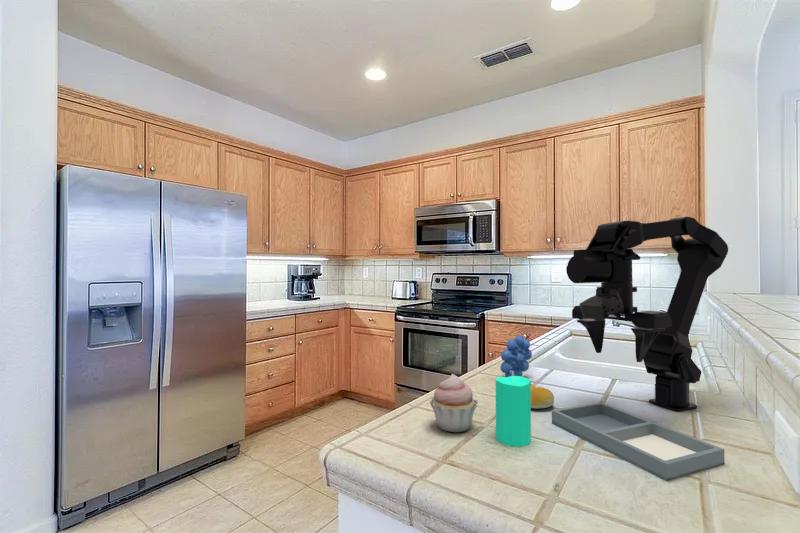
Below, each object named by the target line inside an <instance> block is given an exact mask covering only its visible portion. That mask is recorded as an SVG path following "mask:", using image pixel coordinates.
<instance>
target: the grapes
mask: <svg viewBox="0 0 800 533" xmlns="http://www.w3.org/2000/svg"><path fill="white" fill-rule="evenodd" d="M530 347H531V343H530V341H529V339H527V338H526V339H524V336H522V335H521V334H519V335H516V336H515V338H514V339H509V340H508V341H507V342H506V349H504V350H503V351H502V352H501V354H500V357H501V360H502V361H503V362H502V363H501V364H500V367H499V368H500V371H501V372H502V373H503V374H504V377H509V376H512V371H513V376H522V377H523V372H524V373H525V372H526V371H528V369H530V363H529V360H530V359H532V356H533V352H532V351H531V349H529V348H530Z"/></svg>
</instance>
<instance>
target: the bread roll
mask: <svg viewBox="0 0 800 533" xmlns="http://www.w3.org/2000/svg"><path fill="white" fill-rule="evenodd" d="M554 403H555V396H554V393H553V392H552V391H551V390H550V389H549V388H545V387H541V386H535V384H532V383H531V409H547V408H549V407H552V406H553V405H554Z"/></svg>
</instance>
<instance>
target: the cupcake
mask: <svg viewBox="0 0 800 533" xmlns="http://www.w3.org/2000/svg"><path fill="white" fill-rule="evenodd" d="M433 394H434V395H433V396H431V400H429V401H428V402H429V404H430V406H431V408H432V409H433V412H434V417H435V421H436V424H437V427H438V428H439V429H441V430H442V431H446V432H450V433H463V432H466V431H468V430H469V429H470V428H471V426H472V422H473V419H474V418H473V417H474V413H475V411H476V409H477V407H478V403H479V400H476V399H474V397H473V394H474V393H473V391H472V388H471V386H470V385H469V384H468V383H466V382H464V381H463V380H462V379H461V378H460V377H458V376H457V375H456V374H454V373H451V375H450V377H449V378H447V379H445V380H443V381H441V382H440V383H439V384H438V387H436V389H435V390H434V392H433Z"/></svg>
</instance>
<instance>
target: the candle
mask: <svg viewBox="0 0 800 533" xmlns="http://www.w3.org/2000/svg"><path fill="white" fill-rule="evenodd" d="M531 381H532V380H531V379H529V378H527V377H524V376H523V375H522V376H513V371H512V376H509V377H505V376H497V378H496V379H495V438H496V440H497V441H498V442H499V443H501V444H503V445H506V446H510V447H517V448H518V447H525V446H529V445H530V443H531V442H532V408H531V384H532V382H531Z"/></svg>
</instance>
